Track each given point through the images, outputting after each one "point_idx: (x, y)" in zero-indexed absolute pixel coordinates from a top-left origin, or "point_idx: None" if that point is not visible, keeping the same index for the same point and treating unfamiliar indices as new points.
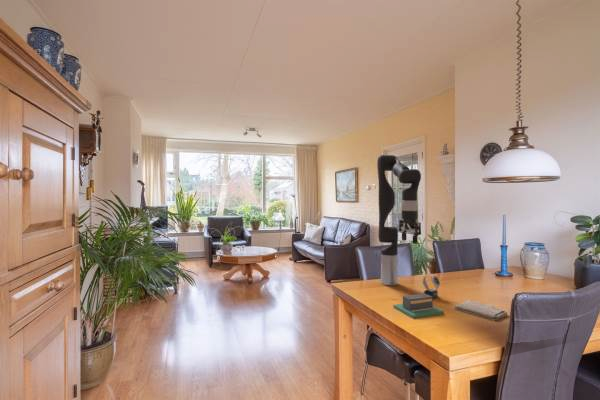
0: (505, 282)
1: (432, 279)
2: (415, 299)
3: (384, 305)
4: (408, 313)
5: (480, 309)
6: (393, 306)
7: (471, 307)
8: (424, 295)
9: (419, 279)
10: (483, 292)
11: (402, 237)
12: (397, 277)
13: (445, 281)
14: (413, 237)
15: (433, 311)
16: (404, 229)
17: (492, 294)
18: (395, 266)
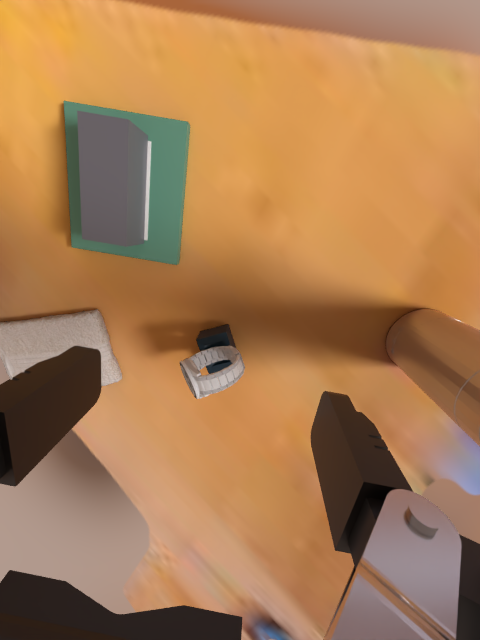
0: (218, 586)
1: (190, 366)
2: (79, 146)
3: (224, 107)
4: (89, 105)
5: (35, 341)
6: (188, 123)
7: (55, 334)
8: (105, 222)
9: None
10: (181, 488)
11: (345, 418)
12: (402, 369)
13: (311, 498)
14: (7, 389)
15: (77, 211)
16: (334, 622)
17: (159, 490)
18: (432, 383)
